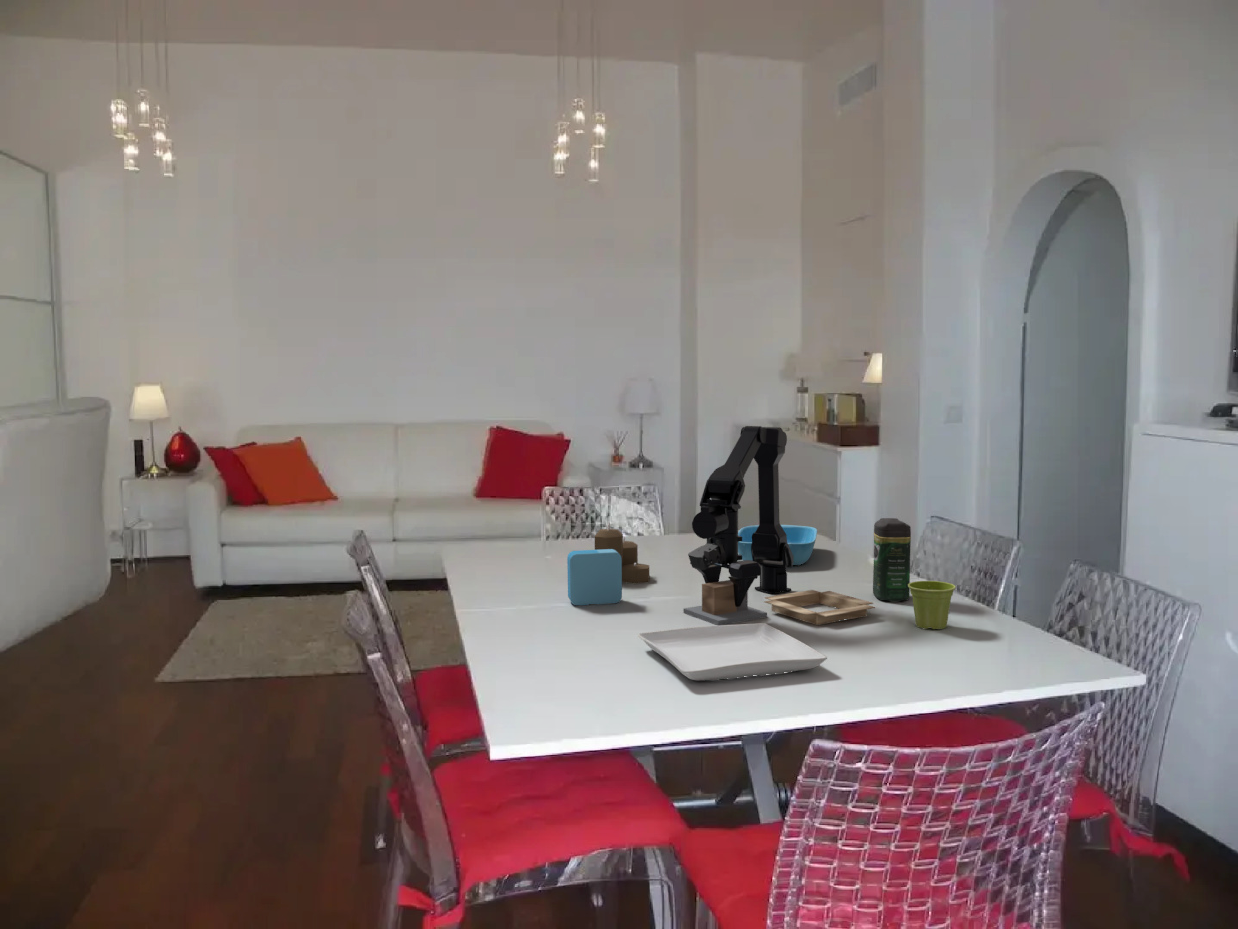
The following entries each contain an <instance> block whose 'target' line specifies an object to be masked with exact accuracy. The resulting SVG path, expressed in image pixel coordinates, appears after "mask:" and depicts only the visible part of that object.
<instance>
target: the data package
mask: <svg viewBox="0 0 1238 929" xmlns="http://www.w3.org/2000/svg"><path fill="white" fill-rule="evenodd" d="M566 561H567V562H566V563H567V566H566V568H567V598H568V599H569V601H570V602H571V604H572V605H573V606H577V605H579V606H590V605H589V604H597V605H610V604H609V603H615V604H618V603H620V602H621V600H622V598H623V585H622V584H623V582H622V559H621V555H620V554H619V553H618V552H617V551H616V550H614V549H602V550H595V549H585V550H584V549H581V550H572V551H570V552H569V553H568V554H567V559H566ZM607 603H608V604H607Z"/></svg>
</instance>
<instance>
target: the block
mask: <svg viewBox="0 0 1238 929" xmlns="http://www.w3.org/2000/svg"><path fill="white" fill-rule="evenodd" d="M748 592H749V591H748ZM748 592H747V593H746V596H745V598H744V600H743V602H742V604H741V606H740V607H736V606H735V600H734V587H733V583H732V581H731V580H730V579H726V580H721V581H720V580H719V582H712V583H702V584H701V606H702V611H703V612H706V613H709V614H712V615H719V614H725V613H731V612H737V611H743V610H748V607H749V606H748V605H749V604H748V602H749V601H748V598H749V597H748V595H749V594H748Z"/></svg>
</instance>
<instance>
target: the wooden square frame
mask: <svg viewBox="0 0 1238 929" xmlns="http://www.w3.org/2000/svg"><path fill="white" fill-rule="evenodd" d="M764 599H766V600H765V601H764V602H763V603H766V604H769V605H770V606H771V611H772V612H773V613H774V612H775V613H777V614H780V615H784V616H788V617H791V618H792V619H793V618H794V619H796V620H800V619H801V620H800V621H803V620H804V621H803V622H806V621H807V623H810V624H812V625H816V626H820V625H825V623H826V624H830V623H831V622H832V623H835V622H834V621H837V622H840V621H839V620H842V621H845V620H844V619H848V620H854V619H857V618H858V617H859V618H864V617H867V613H868V612H867V611H868V610H871V609H876V606H872V605H874V602H872V601H869V600H865V599H861V598H857V597H852V596H850V595H846V594H843V593H839V592H835V591H831V590H827V591H818V590H814V589H809V590H804V591H803V590H802V591H796V592H790V593H785V594H784V593H783V594H778V595H777V594H776V595H771V596H766V597H764ZM816 604H821V605H824V606H828V607H831V608H834V607H836V608H834V609H831V610H825V611H820V612H819V611H818V612H817V611H814V610H810V609H807V608H803V607H806V606H811V605H816ZM838 608H839V609H838ZM863 616H864V617H863Z"/></svg>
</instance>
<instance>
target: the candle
mask: <svg viewBox="0 0 1238 929" xmlns="http://www.w3.org/2000/svg"><path fill="white" fill-rule="evenodd" d="M606 526H607V528H603V529H602V528H601V529H599V531H597V532H596V534H595V535H594V550H602V549H614V550H616V551H617V552H618V553H619V554H620V555H621V559H622V583H626V582H627V584H633V583H636V584H644V583H645V584H646V583H650V582H649V581H650V565H649V564H644V563H639V562H638V561H639V560H638V559H639V558H638V553H639V552H638V544H637V543H635V542H634V541H629V540H626V538H625V537H624V534H623V533H622V531H620V530H619V529H618V528H611V523H610V521H608V522H607V525H606Z"/></svg>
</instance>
